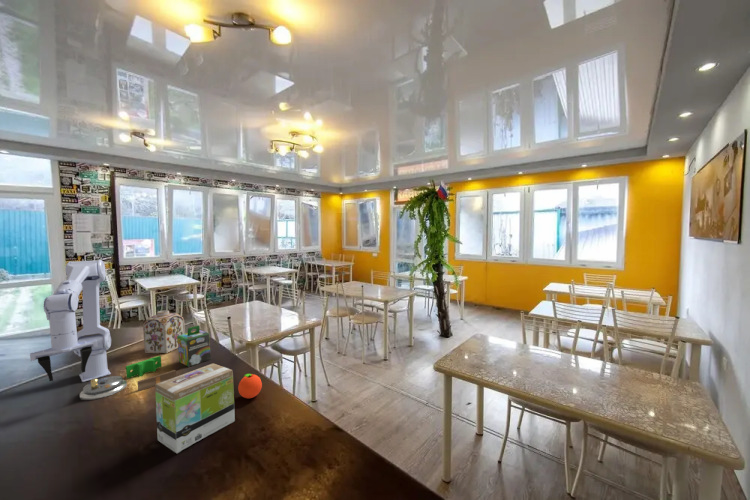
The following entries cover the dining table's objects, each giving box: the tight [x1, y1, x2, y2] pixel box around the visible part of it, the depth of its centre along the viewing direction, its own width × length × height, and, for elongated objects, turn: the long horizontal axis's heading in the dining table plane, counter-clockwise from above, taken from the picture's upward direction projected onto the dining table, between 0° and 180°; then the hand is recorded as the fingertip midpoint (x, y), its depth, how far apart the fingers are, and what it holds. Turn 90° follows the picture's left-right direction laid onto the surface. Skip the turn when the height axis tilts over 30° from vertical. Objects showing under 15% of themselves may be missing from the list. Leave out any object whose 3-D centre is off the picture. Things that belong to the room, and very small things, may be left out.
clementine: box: [237, 373, 263, 399], centre depth 97 cm, size 8×7×7 cm
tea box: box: [154, 363, 236, 454], centre depth 80 cm, size 15×10×15 cm
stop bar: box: [137, 369, 177, 392], centre depth 108 cm, size 1×11×3 cm, turn 139°
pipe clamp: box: [125, 355, 162, 379], centre depth 118 cm, size 11×4×5 cm, turn 147°
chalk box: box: [177, 325, 212, 368], centre depth 128 cm, size 9×9×15 cm
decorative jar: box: [142, 309, 186, 354], centre depth 144 cm, size 12×12×18 cm
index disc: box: [82, 375, 124, 395], centre depth 105 cm, size 10×10×4 cm
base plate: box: [79, 379, 128, 401], centre depth 105 cm, size 12×12×1 cm
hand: (67, 375), depth 96 cm, fingers open, 6 cm apart
